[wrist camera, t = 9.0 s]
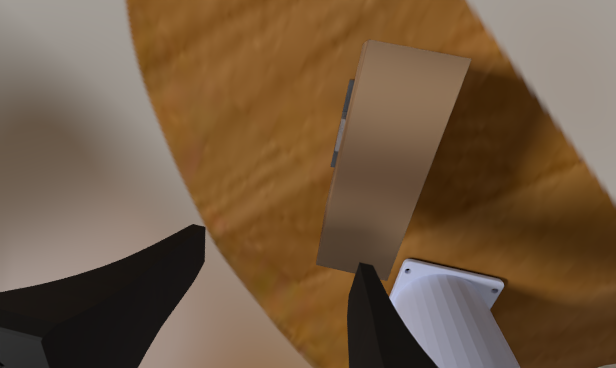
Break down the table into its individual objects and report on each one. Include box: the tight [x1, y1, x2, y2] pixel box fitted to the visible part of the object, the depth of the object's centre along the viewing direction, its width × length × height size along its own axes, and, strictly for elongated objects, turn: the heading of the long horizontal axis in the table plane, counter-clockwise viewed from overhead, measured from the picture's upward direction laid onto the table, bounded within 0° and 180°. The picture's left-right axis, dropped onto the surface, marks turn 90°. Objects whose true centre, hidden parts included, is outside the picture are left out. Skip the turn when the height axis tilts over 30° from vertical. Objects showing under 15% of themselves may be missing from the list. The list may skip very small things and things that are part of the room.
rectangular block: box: [316, 40, 471, 281], centre depth 15 cm, size 10×4×6 cm, turn 170°
